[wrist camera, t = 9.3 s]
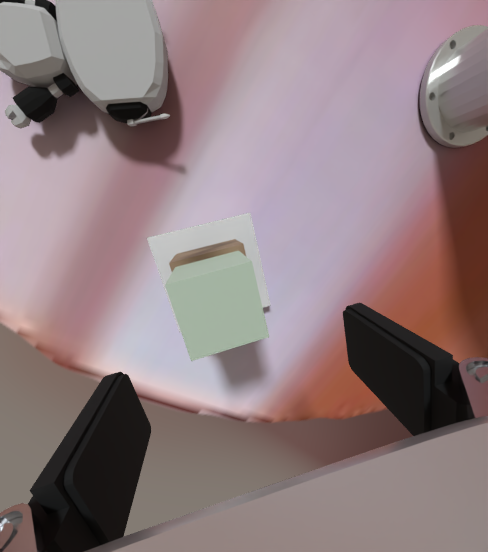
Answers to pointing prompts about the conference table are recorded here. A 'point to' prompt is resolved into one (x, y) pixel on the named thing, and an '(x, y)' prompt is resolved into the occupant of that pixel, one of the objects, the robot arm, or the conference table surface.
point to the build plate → (207, 235)
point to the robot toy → (84, 57)
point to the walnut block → (206, 253)
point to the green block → (217, 304)
